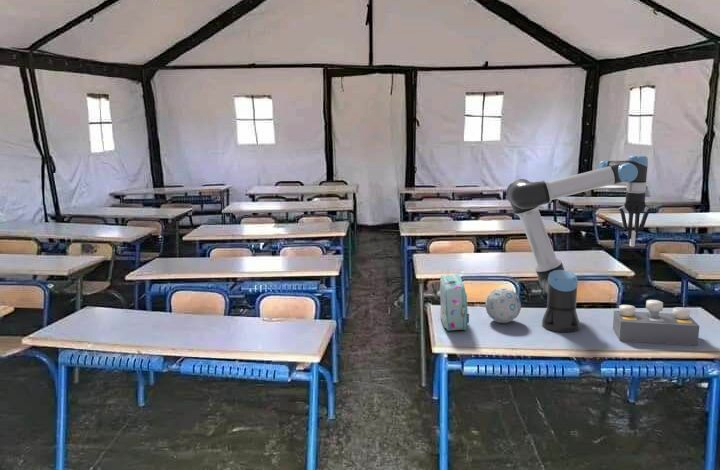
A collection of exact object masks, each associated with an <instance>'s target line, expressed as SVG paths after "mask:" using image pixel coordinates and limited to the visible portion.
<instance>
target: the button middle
mask: <svg viewBox="0 0 720 470" xmlns="http://www.w3.org/2000/svg"><path fill="white" fill-rule="evenodd" d="M663 309H664V302H662V301H660V300H658V299H647V300H646V301H645V310H647V311H648V312H649V318H659V313H661V312H662V311H663Z"/></svg>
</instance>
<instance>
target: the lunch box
mask: <svg viewBox="0 0 720 470" xmlns="http://www.w3.org/2000/svg"><path fill="white" fill-rule="evenodd" d="M439 279H440V281H439V284H440V285H439V287H440V291H439V293H440V294H439V295H440V299H439V300H440V301H439V302H440V311H439V313H440V314H439V315H440V319H441V322H442V325H443V327H444V328H446V329H447V330H446V329H445V330H446V331H448V332H449V331H462V330H464V331H465V330H466V331H467V329H468V324H469V321H470V313H468V312H469V311H468V295H467V292H466V287H465V284H464V283H463V280H462V276H461V275H460V274H458V273H457V274H451V275H449V274H448V275H441V277H440V278H439Z"/></svg>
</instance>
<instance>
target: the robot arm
mask: <svg viewBox="0 0 720 470" xmlns="http://www.w3.org/2000/svg"><path fill="white" fill-rule="evenodd" d="M648 160H649V159H648V157H647V156H646V155H629V156H628V158H627V159H626V160H601V161H600V162H599V163H598V164H597V169H593V170H589V171H586V172H585V171H584V172H581V173H578V174H575V175H574V174H573V175H570V176H566V177H562V178H558V179H554V180H550V181H546V180H541V181H529V180H528V179H526V178H518V179H517V178H516V179H515V180H512V181H511V182H510V183H509V184H508V185H507V187H506V190H505V195H506V198H507V199H506V200H508V202H509V203H510V205H511V208H512V211H513V213H514V215H516V216H518V217H519V219H520V221H521V224H522V227H523V230H524V232H525V235H526V238H527V241H528V243H529V246H530V249H531V252H532V253H533V254H532V255H533V256H534V259H535V261H536V265H537V266H536V267H535V272H536V275H537V281H538V284H539V286H540V287H541V288H542V289H543V291H545V292H546V294H547V298H546V299H547V300H546V301H547V303H546V309H545V312H544V313H543V317H542V320H541V326H542V327H543V328H544V329H546V330H548V331H552V332H556V333H557V332H558V333H572V332H573V333H574V332H577V331H579V330H580V326H581V325H580V320H579V317H578V313H577V298H578V297H577V295H578V285H579V281H578V277H577V275H576V274H575V273H574V272H573V271H569V270H566V269H565V268H564V265H563V262H562V260H560V259H558V258H557V256H556V254H555V250H554V247H553V245H552V242H551V239H550V237H549V234H548V232H547V229H546V226H545V224H544V221H543V218H542V215H541V213H540V210H539V209H540V207H541V206H544V205H546V204H550V203H551V202H552V200H556V199H561V198H565V197H568V196H572V195H575V194H580V193H583V192H588V191H591V190H595V189H599V188H602V187H607V186H611V185H616V184H619V183H626V187H625V189H626V193H625V202H624V205H622V206H620V207H618V212H620V216H621V221H622V229H624V230H625V231H627V239H629V246H630V247H631V248H634V247H635V246H636V245H635V244H636V240H637V239H638V238H639V232H640V231H643V230H644V228H645V225H646V222H647V219H648V216H649V214H650V213H651V212H652V208H650V207H648V206H647V204H646V191H647V177H648V168H649V166H648V165H649V162H648ZM625 211H627V213H628V223H627V218H626V213H625ZM642 212H643V213H642ZM641 213H642V218H641V220H640V216H641ZM633 223H634V227H633ZM633 229H634V230H633Z"/></svg>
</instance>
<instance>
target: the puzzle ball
mask: <svg viewBox="0 0 720 470" xmlns="http://www.w3.org/2000/svg"><path fill="white" fill-rule="evenodd" d="M484 304H485V309H486V313H487V314H488V317H490V319H492V320H493V321H495V322H497V323H501V324H508V323H509V322H512V321H513V320H515V319H516V318H518V317H519V314H520V313H521V308H522V305H521V304H522V303H521V299H520V298H519V296H518V295H517V293H516V292H514V291H513V290H511V289H508V288H502V287H501V288H497V289H494V290H492V291H490V293H489V294H488V296H487V297H486V299H485V303H484Z"/></svg>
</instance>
